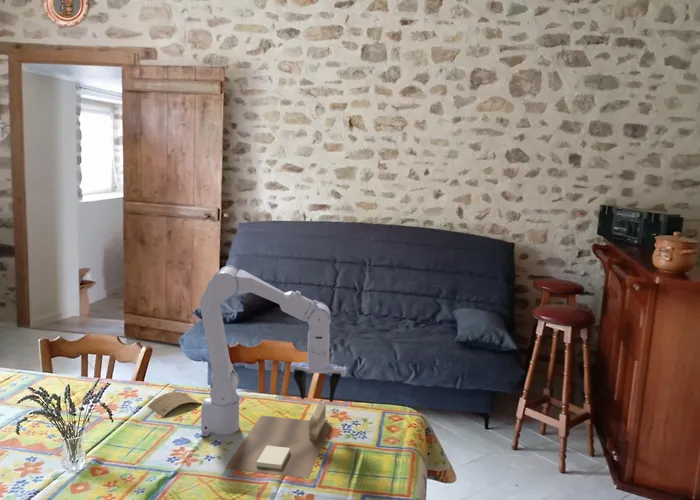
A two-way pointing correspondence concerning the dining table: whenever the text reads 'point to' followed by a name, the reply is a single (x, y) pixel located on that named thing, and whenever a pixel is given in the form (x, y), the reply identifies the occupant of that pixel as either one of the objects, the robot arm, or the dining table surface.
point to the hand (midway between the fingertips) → (317, 398)
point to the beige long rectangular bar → (317, 421)
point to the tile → (273, 457)
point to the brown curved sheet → (169, 402)
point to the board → (280, 435)
